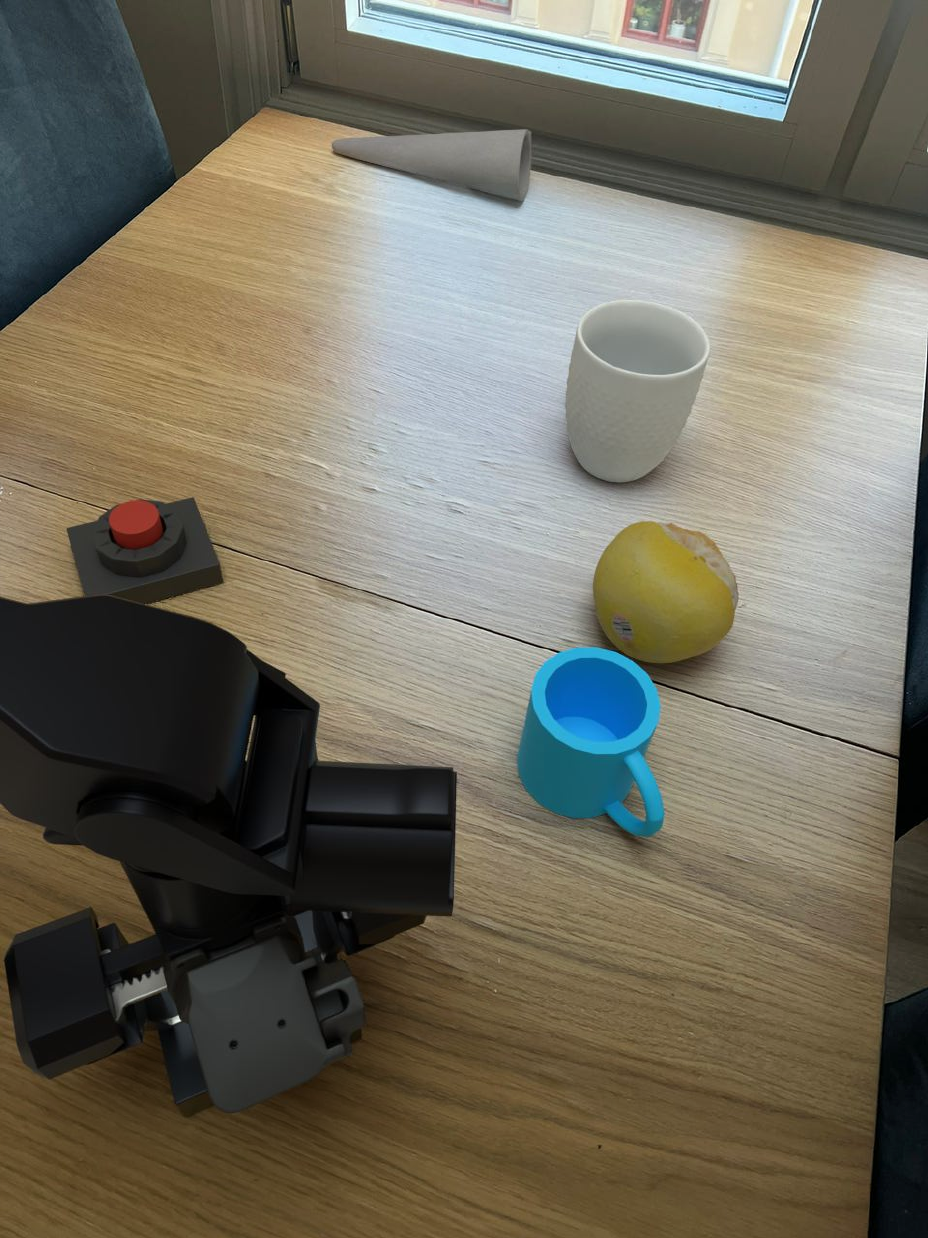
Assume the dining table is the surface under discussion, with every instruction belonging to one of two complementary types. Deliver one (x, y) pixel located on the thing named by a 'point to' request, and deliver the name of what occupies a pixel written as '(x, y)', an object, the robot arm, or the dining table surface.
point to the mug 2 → (591, 738)
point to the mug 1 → (632, 386)
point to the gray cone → (453, 158)
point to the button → (135, 524)
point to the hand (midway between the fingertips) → (247, 986)
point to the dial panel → (183, 1053)
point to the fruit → (664, 592)
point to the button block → (147, 557)
